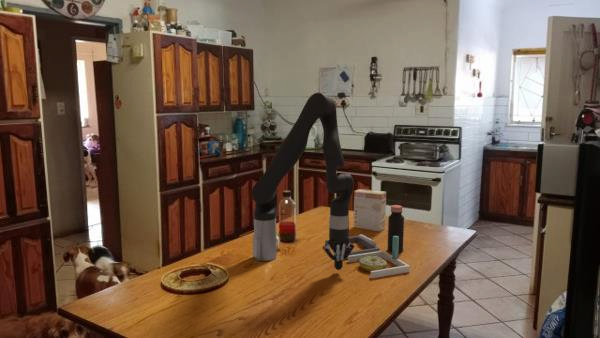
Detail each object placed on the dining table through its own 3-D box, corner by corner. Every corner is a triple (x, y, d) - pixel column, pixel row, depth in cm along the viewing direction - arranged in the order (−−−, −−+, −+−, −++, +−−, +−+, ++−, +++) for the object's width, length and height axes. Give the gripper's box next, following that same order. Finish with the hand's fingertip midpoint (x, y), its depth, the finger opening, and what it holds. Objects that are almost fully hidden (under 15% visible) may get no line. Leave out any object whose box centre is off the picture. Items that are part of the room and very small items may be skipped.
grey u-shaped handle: (344, 259, 193) (344, 248, 192) (325, 245, 210) (325, 236, 209) (380, 253, 199) (380, 243, 198) (358, 240, 216) (359, 231, 216)
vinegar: (386, 251, 202) (387, 207, 198) (389, 246, 208) (390, 203, 205) (401, 253, 199) (403, 208, 196) (404, 248, 205) (405, 205, 202)
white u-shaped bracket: (371, 278, 172) (372, 249, 171) (347, 261, 190) (348, 234, 188) (411, 271, 179) (412, 243, 177) (384, 255, 196) (385, 229, 195)
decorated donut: (391, 268, 183) (392, 259, 183) (374, 275, 176) (375, 266, 175) (371, 261, 191) (371, 252, 190) (354, 267, 184) (354, 258, 183)
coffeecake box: (385, 228, 236) (386, 191, 233) (380, 232, 230) (381, 194, 227) (359, 224, 244) (359, 188, 241) (353, 227, 238) (353, 190, 235)
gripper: (349, 221, 181) (348, 263, 184) (319, 224, 176) (318, 268, 179) (359, 226, 174) (358, 270, 177) (327, 230, 169) (326, 275, 172)
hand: (338, 269), depth 178 cm, fingers closed
